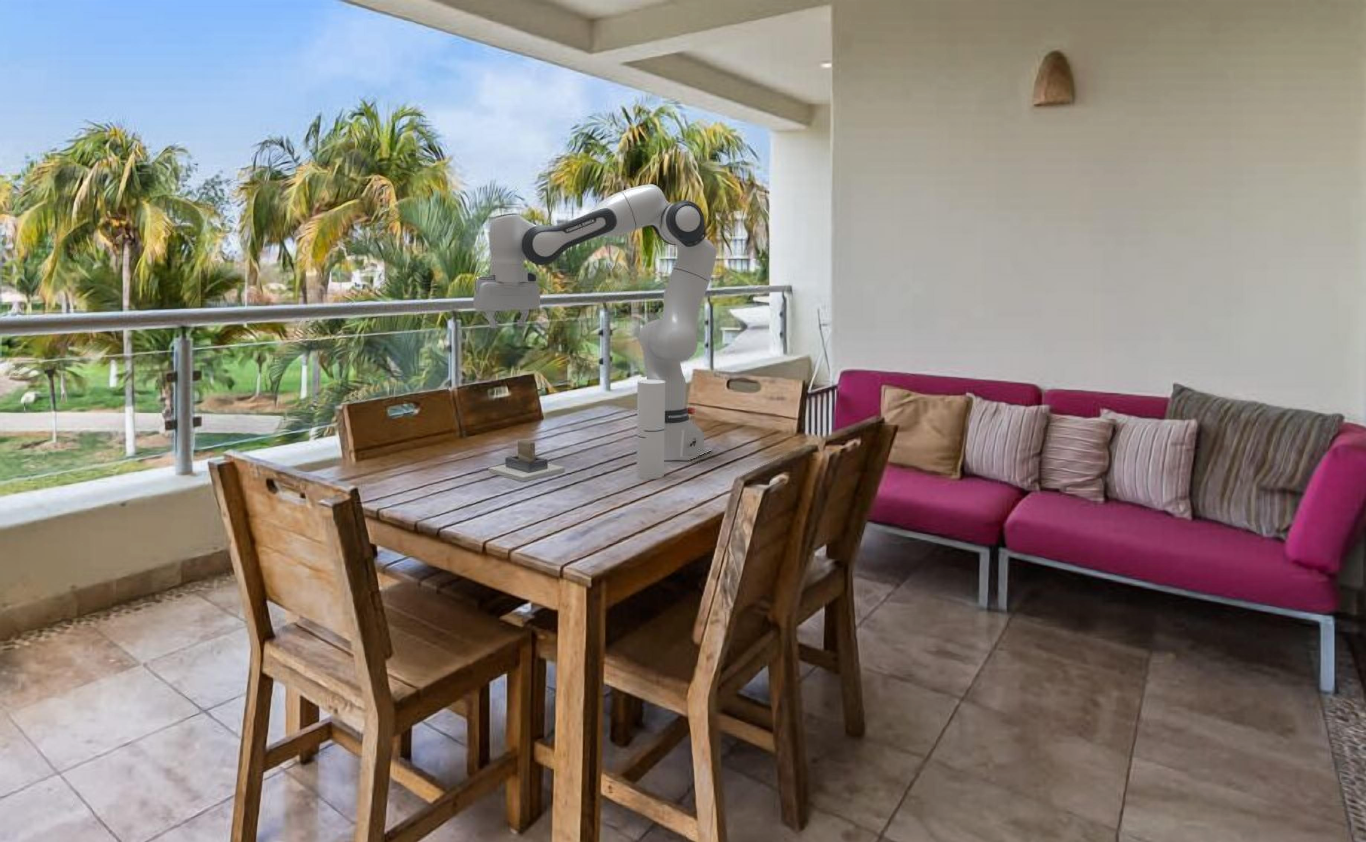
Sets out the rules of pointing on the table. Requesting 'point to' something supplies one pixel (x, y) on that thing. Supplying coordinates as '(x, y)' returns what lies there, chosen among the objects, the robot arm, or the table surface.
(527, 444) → the wooden block
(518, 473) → the plate
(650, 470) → the cylindrical container
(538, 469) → the frame
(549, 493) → the table surface
